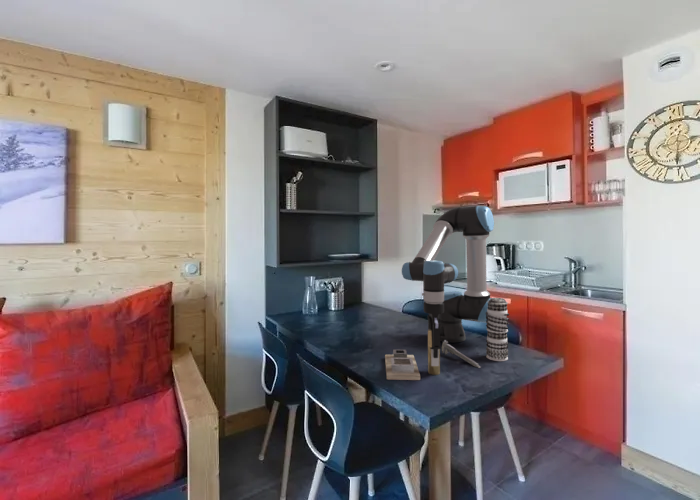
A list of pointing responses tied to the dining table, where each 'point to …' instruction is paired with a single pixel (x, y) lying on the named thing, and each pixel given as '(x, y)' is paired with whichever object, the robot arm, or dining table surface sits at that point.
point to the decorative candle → (497, 329)
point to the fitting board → (401, 366)
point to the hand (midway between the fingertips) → (433, 363)
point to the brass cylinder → (431, 369)
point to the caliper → (457, 353)
